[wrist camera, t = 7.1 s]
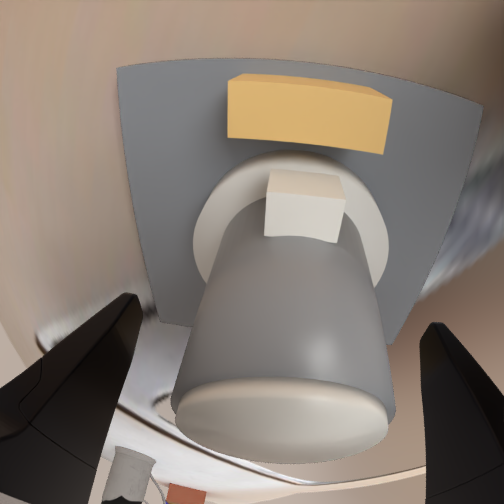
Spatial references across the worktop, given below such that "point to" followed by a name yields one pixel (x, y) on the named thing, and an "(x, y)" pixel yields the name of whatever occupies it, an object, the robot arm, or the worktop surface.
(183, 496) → the house
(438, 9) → the worktop surface
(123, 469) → the glass holder
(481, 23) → the worktop surface
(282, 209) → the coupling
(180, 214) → the board
